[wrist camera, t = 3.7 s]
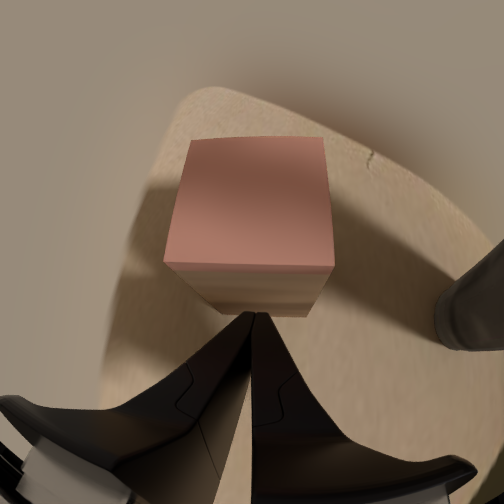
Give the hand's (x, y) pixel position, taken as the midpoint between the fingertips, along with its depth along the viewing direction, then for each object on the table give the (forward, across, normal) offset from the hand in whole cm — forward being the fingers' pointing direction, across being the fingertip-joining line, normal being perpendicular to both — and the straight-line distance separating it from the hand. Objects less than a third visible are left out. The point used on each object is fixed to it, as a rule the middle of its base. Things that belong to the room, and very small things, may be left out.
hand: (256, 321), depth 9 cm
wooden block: (+7, 0, +2) cm, 8 cm away
